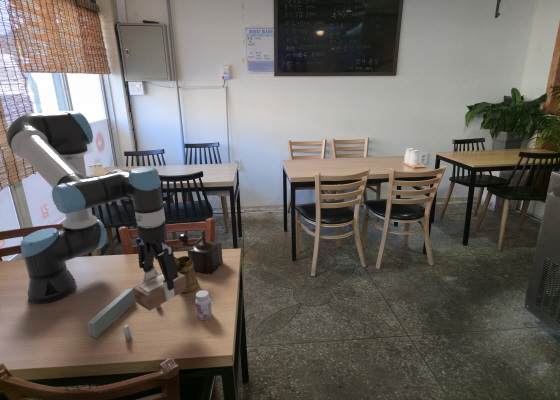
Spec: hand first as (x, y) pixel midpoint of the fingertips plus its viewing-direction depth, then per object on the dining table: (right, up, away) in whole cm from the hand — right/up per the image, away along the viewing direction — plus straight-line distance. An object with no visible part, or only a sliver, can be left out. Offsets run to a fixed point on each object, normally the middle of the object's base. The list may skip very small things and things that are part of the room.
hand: (161, 293), depth 105 cm
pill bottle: (+11, -10, +10) cm, 18 cm away
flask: (-14, -4, +30) cm, 33 cm away
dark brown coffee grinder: (+4, -1, +38) cm, 38 cm away
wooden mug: (0, -5, +25) cm, 25 cm away
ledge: (-13, -11, +9) cm, 19 cm away
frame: (0, -1, 0) cm, 1 cm away
